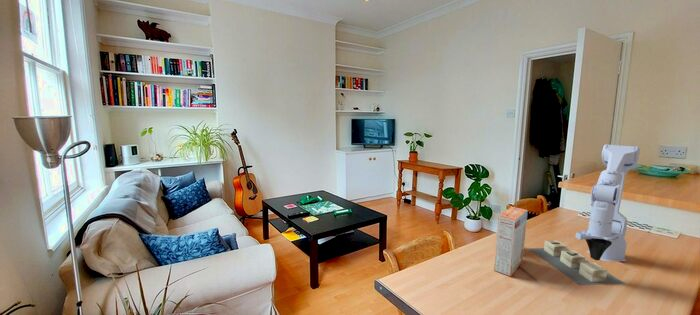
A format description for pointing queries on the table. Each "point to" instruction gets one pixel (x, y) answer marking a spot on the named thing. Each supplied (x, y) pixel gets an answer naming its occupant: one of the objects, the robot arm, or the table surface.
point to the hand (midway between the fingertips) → (594, 258)
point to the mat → (572, 269)
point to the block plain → (593, 271)
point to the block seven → (572, 259)
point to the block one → (554, 247)
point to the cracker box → (510, 240)
